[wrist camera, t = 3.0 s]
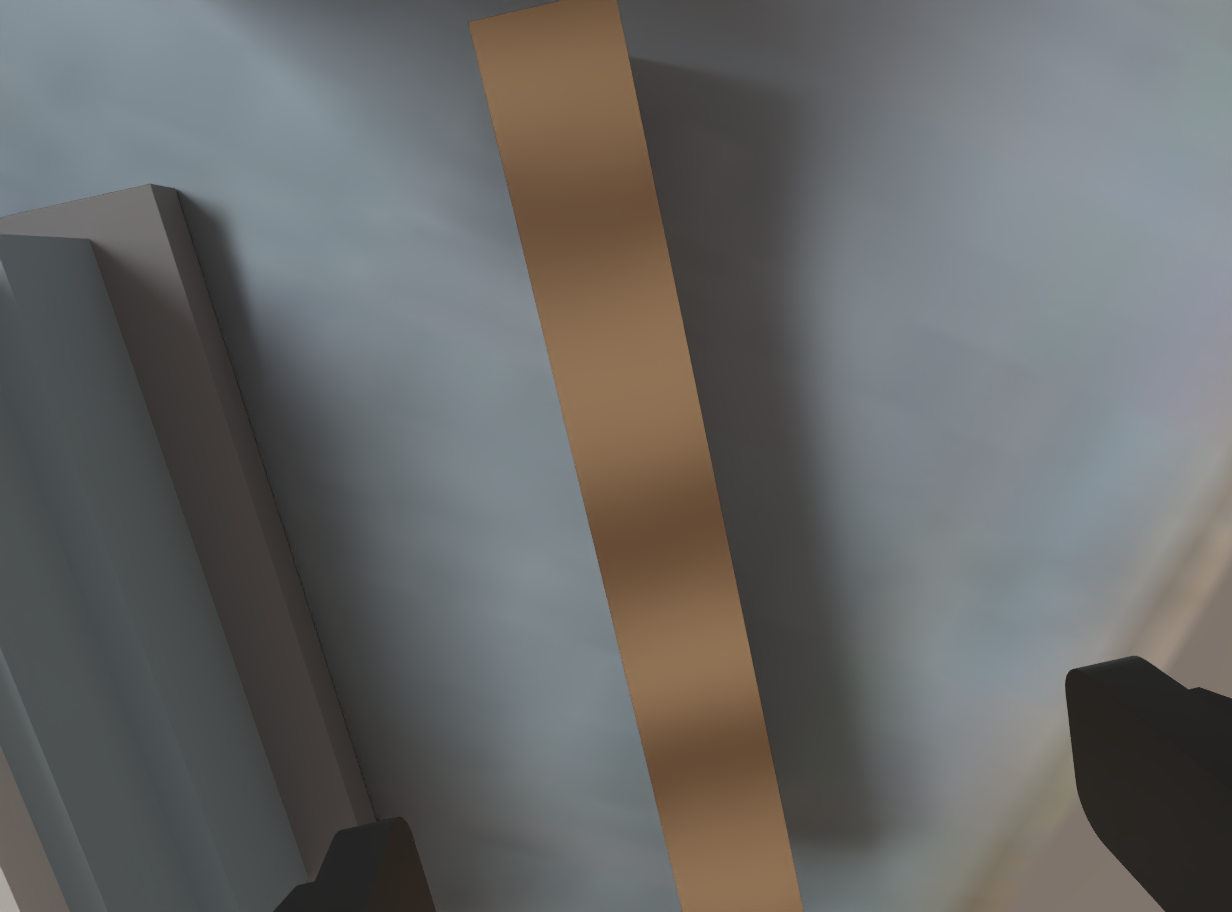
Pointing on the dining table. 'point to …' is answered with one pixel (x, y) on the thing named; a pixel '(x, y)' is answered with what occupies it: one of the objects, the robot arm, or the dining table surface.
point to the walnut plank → (638, 441)
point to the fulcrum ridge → (147, 592)
